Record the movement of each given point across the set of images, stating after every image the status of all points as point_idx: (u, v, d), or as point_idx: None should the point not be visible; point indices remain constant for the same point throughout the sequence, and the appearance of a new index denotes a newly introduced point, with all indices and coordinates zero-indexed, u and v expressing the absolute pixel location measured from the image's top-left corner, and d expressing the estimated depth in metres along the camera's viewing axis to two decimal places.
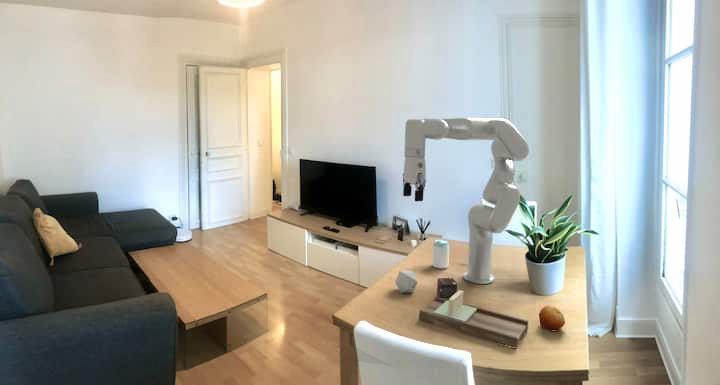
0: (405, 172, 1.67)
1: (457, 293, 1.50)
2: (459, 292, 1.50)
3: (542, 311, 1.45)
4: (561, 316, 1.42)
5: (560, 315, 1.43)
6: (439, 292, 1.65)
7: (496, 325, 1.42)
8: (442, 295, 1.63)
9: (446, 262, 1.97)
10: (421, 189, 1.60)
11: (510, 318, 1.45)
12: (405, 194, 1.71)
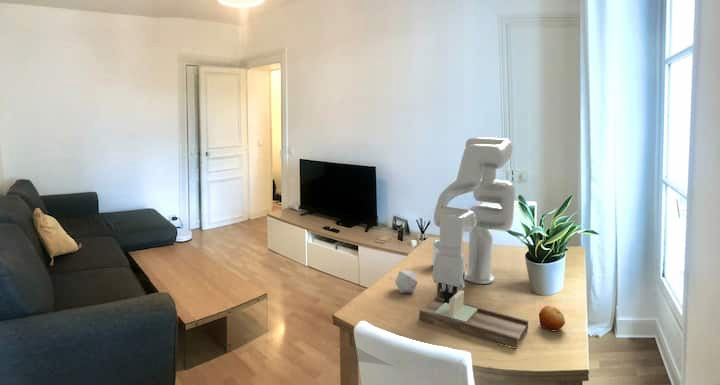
0: None
1: (458, 293, 1.50)
2: (460, 292, 1.50)
3: (542, 311, 1.45)
4: (561, 316, 1.42)
5: (560, 315, 1.43)
6: (439, 292, 1.65)
7: (496, 325, 1.42)
8: (442, 295, 1.63)
9: None
10: None
11: (510, 318, 1.45)
12: None
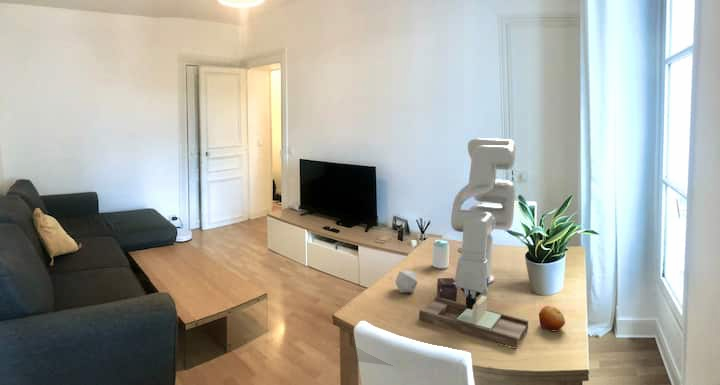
0: None
1: (481, 299, 1.45)
2: (483, 298, 1.46)
3: (542, 311, 1.45)
4: (561, 316, 1.42)
5: (560, 315, 1.43)
6: (439, 292, 1.65)
7: (496, 325, 1.42)
8: (442, 295, 1.63)
9: (446, 262, 1.97)
10: None
11: (510, 318, 1.45)
12: None
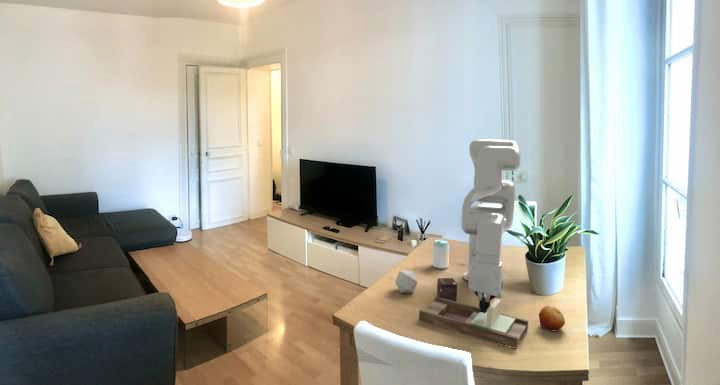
0: None
1: (495, 302, 1.43)
2: (497, 301, 1.44)
3: (542, 311, 1.45)
4: (561, 316, 1.42)
5: (560, 315, 1.43)
6: (439, 292, 1.65)
7: None
8: (442, 295, 1.63)
9: (446, 262, 1.97)
10: None
11: None
12: None
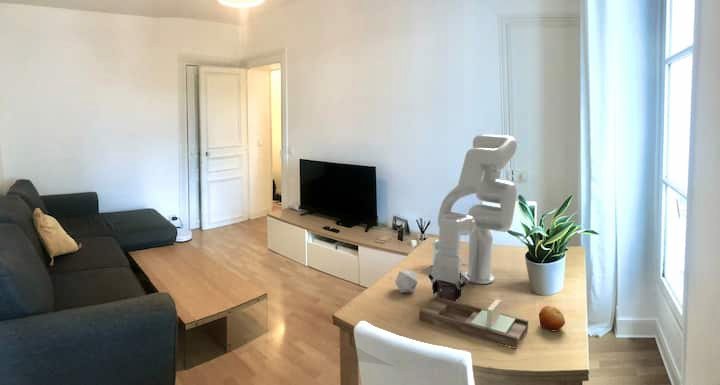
0: None
1: (495, 302, 1.43)
2: (497, 301, 1.44)
3: (542, 311, 1.45)
4: (561, 316, 1.42)
5: (560, 315, 1.43)
6: (439, 291, 1.65)
7: None
8: (442, 295, 1.63)
9: None
10: None
11: None
12: None
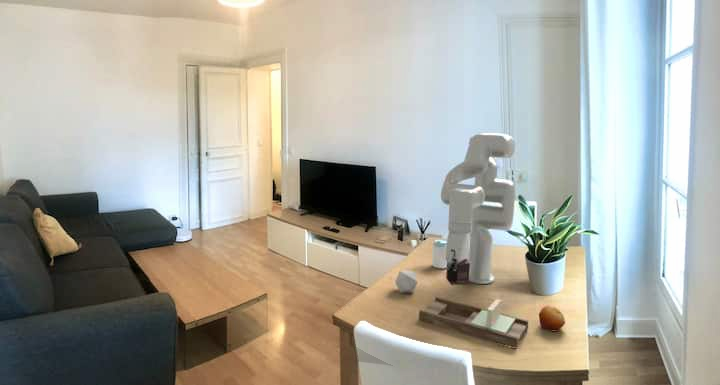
0: (462, 251, 1.42)
1: (495, 302, 1.43)
2: (497, 301, 1.44)
3: (542, 311, 1.45)
4: (561, 316, 1.42)
5: (560, 315, 1.43)
6: None
7: None
8: None
9: (446, 262, 1.97)
10: None
11: None
12: None
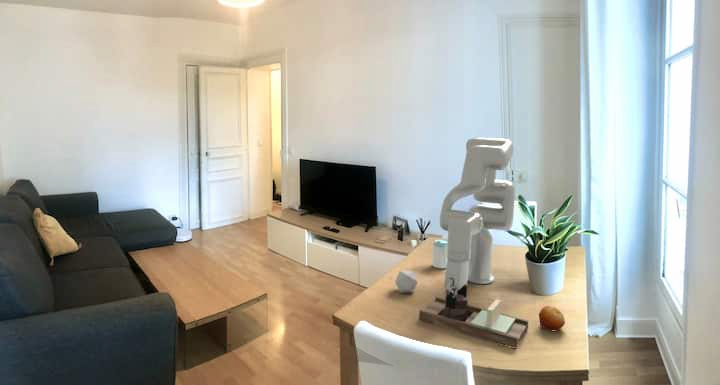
0: (461, 278, 1.44)
1: (495, 302, 1.43)
2: (497, 301, 1.44)
3: (542, 311, 1.45)
4: (561, 316, 1.42)
5: (560, 315, 1.43)
6: None
7: None
8: (445, 307, 1.52)
9: (446, 262, 1.97)
10: None
11: None
12: None
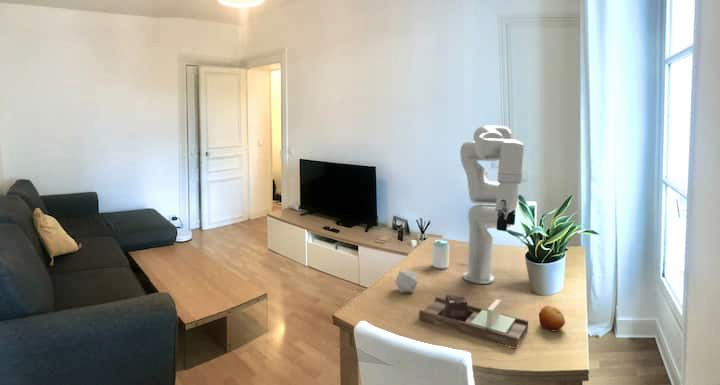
0: (512, 201, 1.48)
1: (495, 302, 1.43)
2: (497, 301, 1.44)
3: (542, 311, 1.45)
4: (561, 316, 1.42)
5: (560, 315, 1.43)
6: None
7: None
8: (445, 307, 1.52)
9: (446, 262, 1.97)
10: None
11: None
12: None
